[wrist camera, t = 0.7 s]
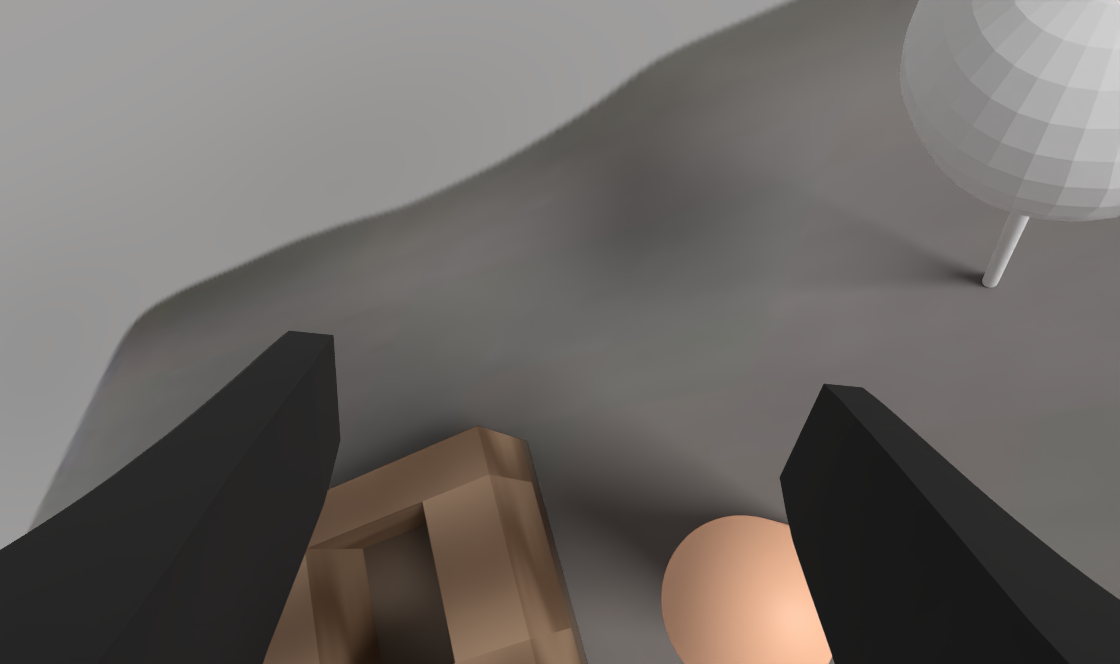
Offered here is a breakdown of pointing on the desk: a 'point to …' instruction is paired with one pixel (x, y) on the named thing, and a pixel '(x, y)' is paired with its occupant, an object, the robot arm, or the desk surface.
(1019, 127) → the lollipop
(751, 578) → the pin
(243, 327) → the desk surface
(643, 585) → the desk surface
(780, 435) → the desk surface
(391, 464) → the socket block
